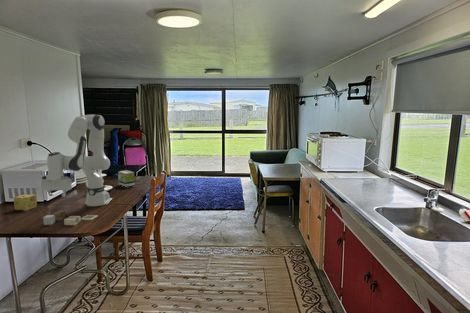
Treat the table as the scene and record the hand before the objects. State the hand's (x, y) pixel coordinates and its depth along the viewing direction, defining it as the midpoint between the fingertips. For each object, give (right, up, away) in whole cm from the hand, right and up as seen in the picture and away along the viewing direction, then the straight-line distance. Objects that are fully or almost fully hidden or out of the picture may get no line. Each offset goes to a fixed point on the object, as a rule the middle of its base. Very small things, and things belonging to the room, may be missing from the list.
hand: (57, 196), depth 200 cm
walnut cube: (0, -16, +2) cm, 17 cm away
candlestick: (-7, -6, +77) cm, 77 cm away
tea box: (+11, -3, +99) cm, 100 cm away
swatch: (+19, -16, +6) cm, 26 cm away
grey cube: (-2, -17, -5) cm, 18 cm away
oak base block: (+13, -18, -5) cm, 23 cm away
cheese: (-39, -13, +25) cm, 48 cm away
